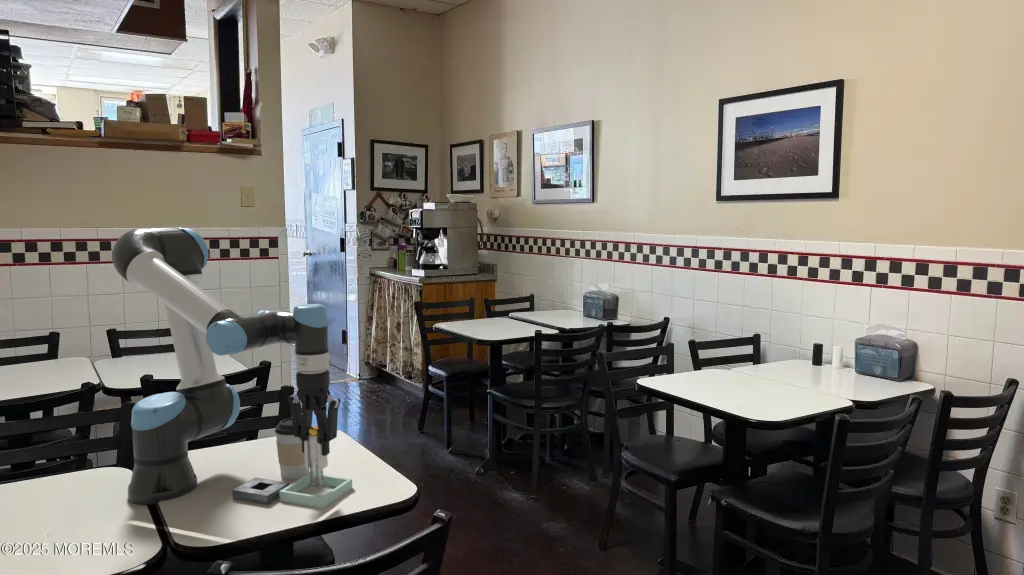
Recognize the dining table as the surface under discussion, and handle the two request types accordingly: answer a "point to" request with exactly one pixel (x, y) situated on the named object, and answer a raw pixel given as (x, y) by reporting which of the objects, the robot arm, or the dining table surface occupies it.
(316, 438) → the pin
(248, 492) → the block
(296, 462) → the coffee cup
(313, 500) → the tray
